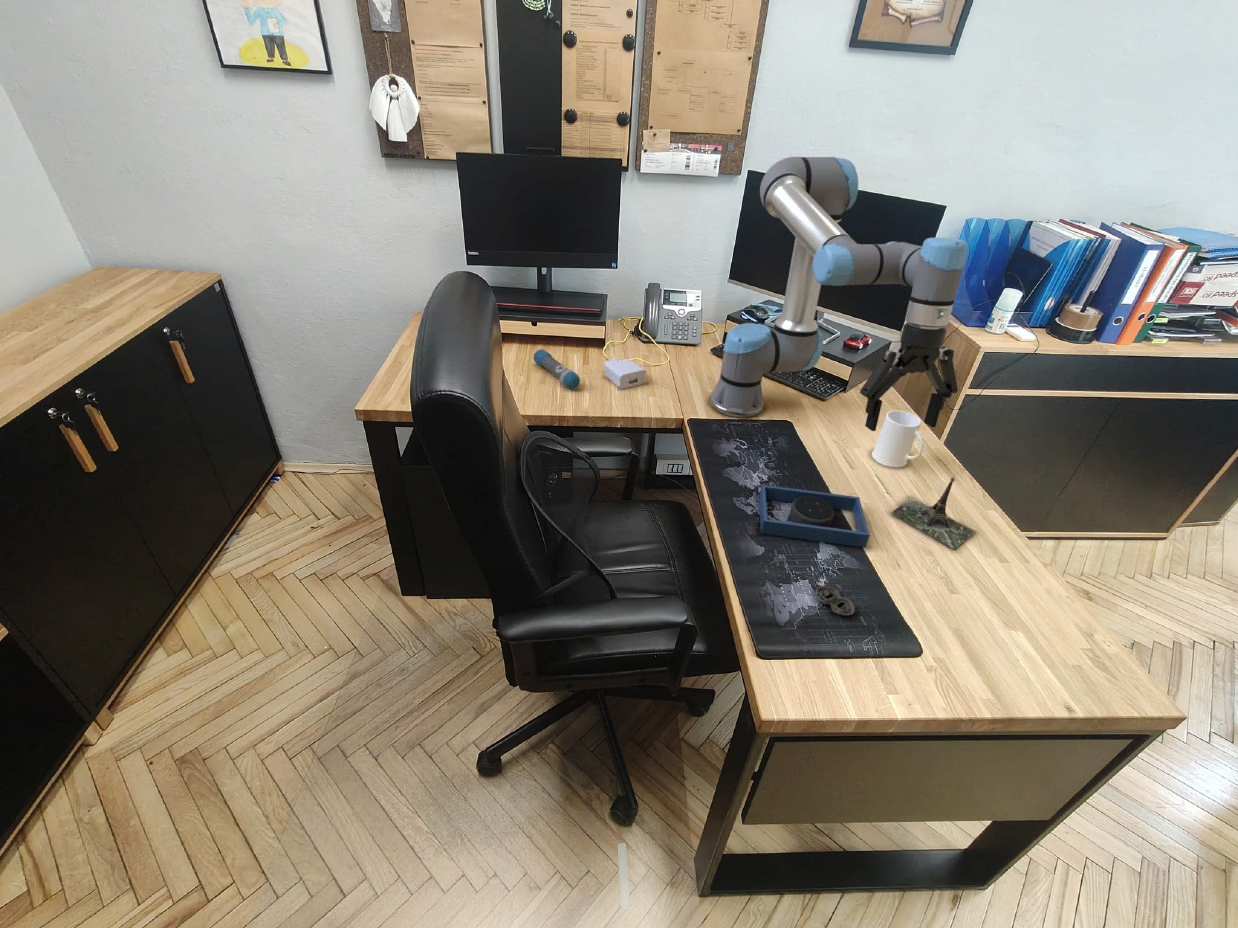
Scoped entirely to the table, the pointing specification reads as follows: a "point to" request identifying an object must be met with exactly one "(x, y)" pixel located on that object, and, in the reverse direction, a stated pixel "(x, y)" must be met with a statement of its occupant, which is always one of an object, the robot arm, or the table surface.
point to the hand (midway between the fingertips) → (900, 426)
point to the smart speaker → (811, 511)
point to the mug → (897, 439)
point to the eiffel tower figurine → (935, 520)
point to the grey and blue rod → (557, 369)
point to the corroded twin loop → (835, 600)
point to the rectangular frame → (811, 531)
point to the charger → (624, 373)
